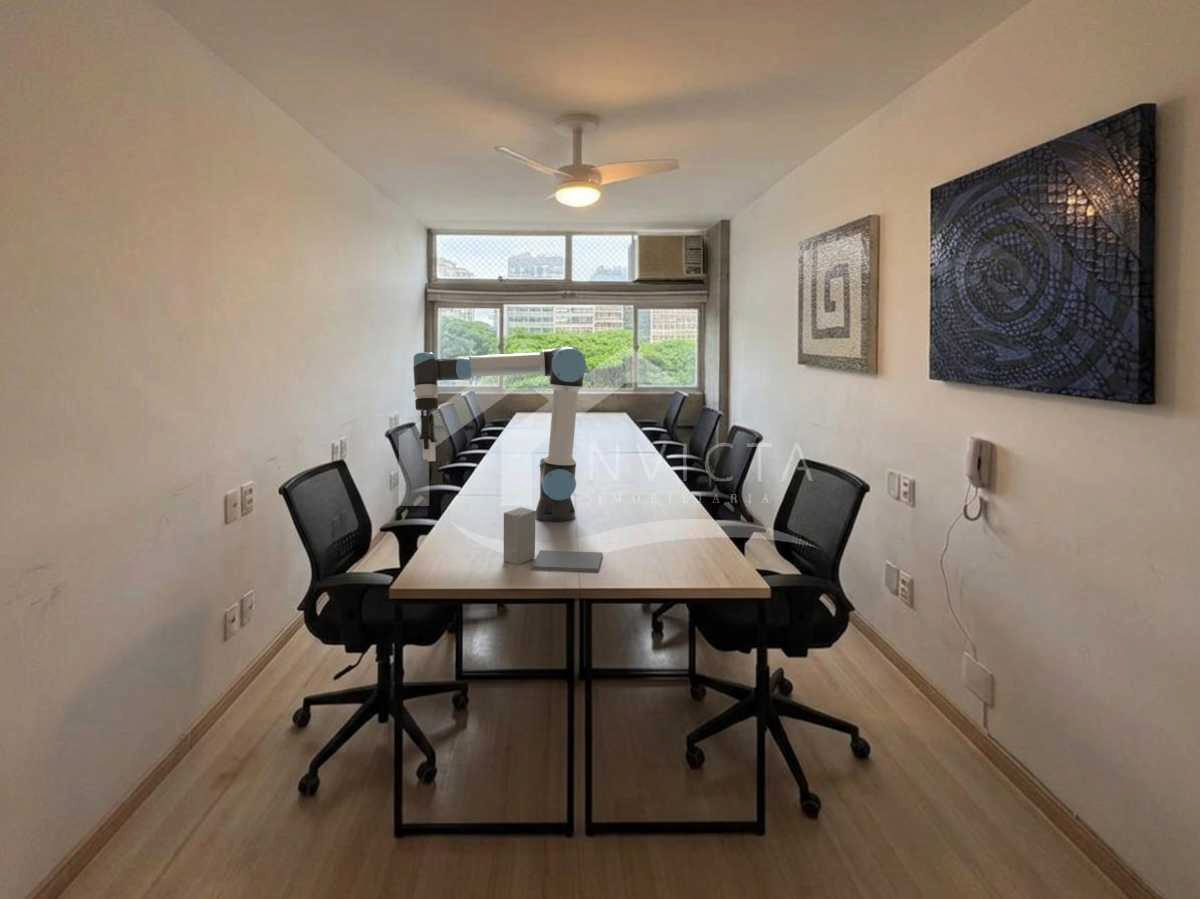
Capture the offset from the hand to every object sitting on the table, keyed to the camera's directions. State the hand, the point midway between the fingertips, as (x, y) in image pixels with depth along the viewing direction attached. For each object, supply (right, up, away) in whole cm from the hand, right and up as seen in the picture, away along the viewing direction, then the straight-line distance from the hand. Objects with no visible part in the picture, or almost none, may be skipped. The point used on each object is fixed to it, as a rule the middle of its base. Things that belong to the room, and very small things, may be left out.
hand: (429, 460), depth 245 cm
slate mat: (+48, -31, -24) cm, 62 cm away
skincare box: (+33, -31, -23) cm, 51 cm away
